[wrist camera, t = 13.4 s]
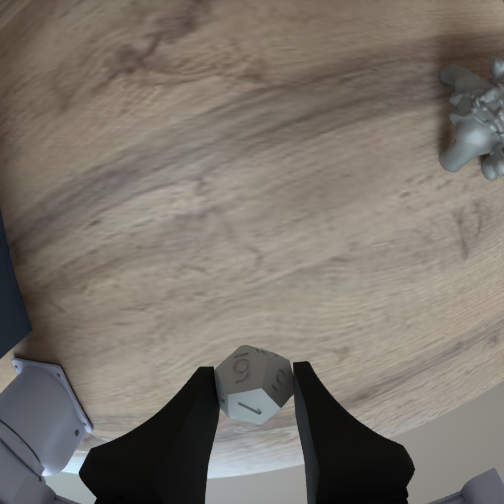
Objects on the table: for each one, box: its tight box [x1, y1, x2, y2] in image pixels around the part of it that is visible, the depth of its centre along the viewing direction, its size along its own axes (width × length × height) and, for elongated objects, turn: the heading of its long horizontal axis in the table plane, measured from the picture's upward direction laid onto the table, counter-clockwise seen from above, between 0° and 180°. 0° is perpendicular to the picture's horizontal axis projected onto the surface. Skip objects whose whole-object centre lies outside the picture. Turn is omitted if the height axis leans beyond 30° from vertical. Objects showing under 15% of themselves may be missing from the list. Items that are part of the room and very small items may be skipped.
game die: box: [214, 345, 295, 425], centre depth 12 cm, size 4×4×3 cm
